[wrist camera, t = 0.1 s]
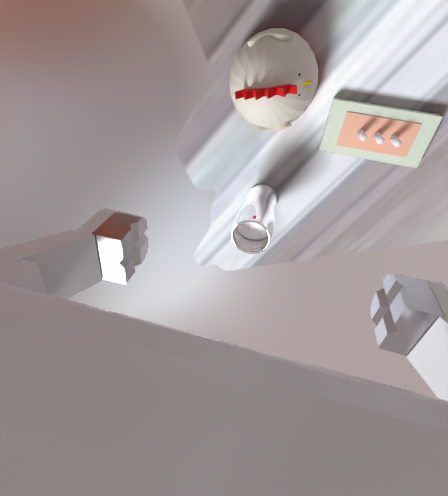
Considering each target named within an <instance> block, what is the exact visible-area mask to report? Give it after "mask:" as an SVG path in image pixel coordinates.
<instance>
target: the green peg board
mask: <svg viewBox="0 0 448 496" xmlns="http://www.w3.org/2000/svg"><path fill="white" fill-rule="evenodd" d="M442 118H443V117H442V116H440V115H439V114H434V113H428V112H422V111H415V110H409V109H403V108H396V107H390V106H384V105H378V104H371V103H365V102H359V101H353V100H346V99H340V98H333V101H332V105H331V108H330V111H329V115H328V118H327V121H326V125H325V128H324V131H323V135H322V138H321V142H320V145H319V150H320V151H325V152H331V153H336V154H342V155H347V156H353V157H358V158H364V159H369V160H375V161H380V162H386V163H391V164H397V165H402V166H408V167H413V168H417V166H418V164H419V162H420V160H421V158H422V156H423V154H424V152H425V151H426V149H427V147H428V145H429V143H430V141H431V139H432V137H433V135H434V133H435V131H436V129H437V127H438V125H439V123H440V121H441V119H442Z"/></svg>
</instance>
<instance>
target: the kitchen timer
mask: <svg viewBox="0 0 448 496" xmlns="http://www.w3.org/2000/svg"><path fill="white" fill-rule="evenodd" d="M229 84H230V94H231V97H232V100H233V102H234V105H235V107H236V109H237V110H238V112H239V113H240V114H241V116H242V117H243V118H245V119H246V120H247V121H248V122H250V123H251V124H253V125H254V126H253V129H256V130H266V131H271V130H280V129H284V128H286V127H289V126H291V122H293V121H295V120H297V119H298V118H299V117H300V116H301V115H302V114H303V113H304V112H305V111H306V109H307V108H308V106H309V104H310V103H311V101H312V100H313V98H314V95H315V91H316V88H317V85H318V66H317V61H316V57H315V54H314V52H313V50H312V49H311V47H310V45H309V43H308V42H307V41H306V40H305V39H303V38H302V37H301V36H300V35H299V34H298V33H295V32H293V31H290V30H288V29H285V28H270V29H267V30H265V31H262V32H259V33H257V34H256V35H254V36H253V37H251V38H250V39H249V40H247V41H246V42H245V44H244V45H243V46H242V47H241V49H240V50H239V51H238V53H237V55H236V57H235V59H234V62H233V64H232V67H231V73H230V80H229Z"/></svg>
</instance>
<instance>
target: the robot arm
mask: <svg viewBox="0 0 448 496" xmlns="http://www.w3.org/2000/svg"><path fill="white" fill-rule="evenodd" d="M146 230H147V220H146V219H145V218H144V217H140V216H135V215H132V214H128V213H124V212H120V211H115V210H111V209H106V208H104V209H101V210H100V211H98V212H97V213H96V214H95V215H94V216H92V217H91V218H90V219H89V220H88V221H86V222H85V223H84V224H83V225H82V226H80V227H79V228H78V229H77V230H68V231H64V232H60V233H57V234H53V235H49V236H46V237H42V238H38V239H35V240H31V241H28V242H24V243H20V244H16V245H13V246H9V247H5V248H2V249H0V496H448V290H447V288H446V286H445V285H444V284H442V283H441V282H436V281H430V280H425V279H419V278H414V277H409V276H403V275H399V274H395V273H389V274H387V275H386V277H385V278H384V280H383V286H384V289H381V290H379V291H377V292H376V294H375V296H374V298H373V300H372V304H371V318H372V320H373V321H374V323H375V324H376V325H377V327H376V329H375V330H374V332H375V336H376V341H377V345H378V348H380V349H384V350H388V351H391V352H395V353H399V354H402V355H406V356H407V358H408V360H409V361H410V362H411V363H412V365H413V366H414V367H415V369H416V370H417V371H418V372H419V374H420V375H421V376H422V378H423V379H424V380H425V381H426V383H427V384H428V385H429V387H430V388H431V389H432V390H433V392H434V393H435V394H436V396H437V397H438V398H435V397H432V396H427V395H424V394H420V393H416V392H413V391H409V390H405V389H401V388H397V387H393V386H389V385H386V384H382V383H378V382H374V381H371V380H367V379H363V378H360V377H356V376H352V375H349V374H345V373H341V372H337V371H333V370H330V369H326V368H322V367H318V366H315V365H311V364H308V363H304V362H300V361H296V360H292V359H289V358H285V357H281V356H278V355H274V354H270V353H266V352H263V351H259V350H255V349H251V348H247V347H244V346H240V345H236V344H232V343H229V342H224V341H221V340H217V339H213V338H210V337H206V336H202V335H198V334H195V333H190V332H187V331H183V330H180V329H175V328H172V327H168V326H164V325H160V324H157V323H153V322H149V321H145V320H142V319H138V318H134V317H131V316H127V315H123V314H119V313H116V312H112V311H108V310H104V309H101V308H97V307H93V306H89V305H86V304H81V303H78V302H74V301H70V300H67V299H68V298H70V297H72V296H74V295H76V294H77V293H79V292H81V291H83V290H85V289H87V288H89V287H91V286H92V285H94V284H96V283H98V282H100V281H102V279H105V280H110V281H115V282H119V283H123V284H126V283H127V282H128V281H129V279H130V278H131V276H132V275H133V274H134V273H135V266H137V265H139V264H141V263H142V262H143V260H144V259H145V256H146V254H147V250H148V239H147V237H146V235H145V234H144V232H145V231H146Z"/></svg>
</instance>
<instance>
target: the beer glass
mask: <svg viewBox="0 0 448 496" xmlns="http://www.w3.org/2000/svg"><path fill="white" fill-rule="evenodd" d="M276 202H277V195H276V193H275V191H274V190H273V189H272V188H271V187H269V186H267V185H257V186H254V187H253V188H251V189H250V191H249V192H248V195H247V202H246V203H245V204H244V205H243V207H242V208H241V209H240V211H239V212H238V214H237V216H236V218H235V221H234V225H233V229H232V232H231V239H232V242H233V243H234V245H235V246H236V247H237V248H238V249H239V250H241V251H243V252H245V253H249V254H256V253H260V252H262V251H264V250H265V249H266V248H267V247H268V246H269V244H270V240H271V237H272V234H273V231H274V224H275V218H274V211H273V208H274V207H275V205H276Z"/></svg>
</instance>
